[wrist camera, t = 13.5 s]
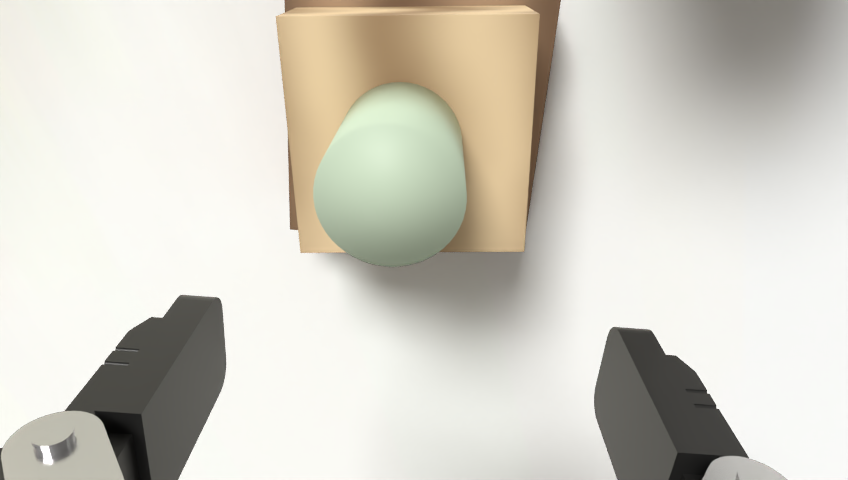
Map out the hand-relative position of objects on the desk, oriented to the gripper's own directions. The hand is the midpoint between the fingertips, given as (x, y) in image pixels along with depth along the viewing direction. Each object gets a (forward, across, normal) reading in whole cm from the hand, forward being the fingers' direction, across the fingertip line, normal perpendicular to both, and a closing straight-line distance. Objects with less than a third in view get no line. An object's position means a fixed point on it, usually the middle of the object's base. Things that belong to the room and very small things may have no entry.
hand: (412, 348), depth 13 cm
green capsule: (+14, +1, 0) cm, 14 cm away
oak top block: (+18, +1, 0) cm, 18 cm away
